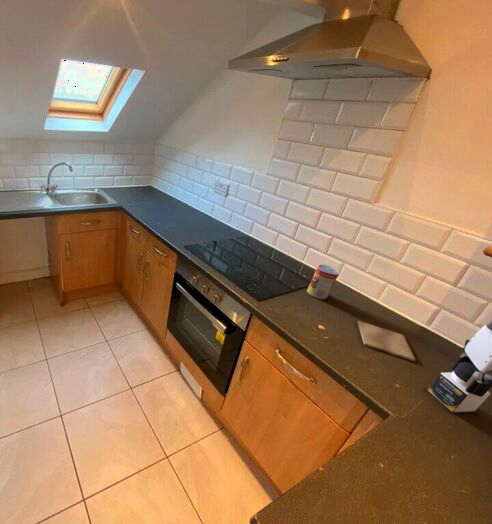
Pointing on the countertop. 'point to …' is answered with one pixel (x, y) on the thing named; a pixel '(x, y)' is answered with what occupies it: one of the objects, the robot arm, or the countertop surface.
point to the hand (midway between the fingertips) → (465, 381)
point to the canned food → (322, 281)
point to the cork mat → (385, 340)
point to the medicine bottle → (458, 388)
